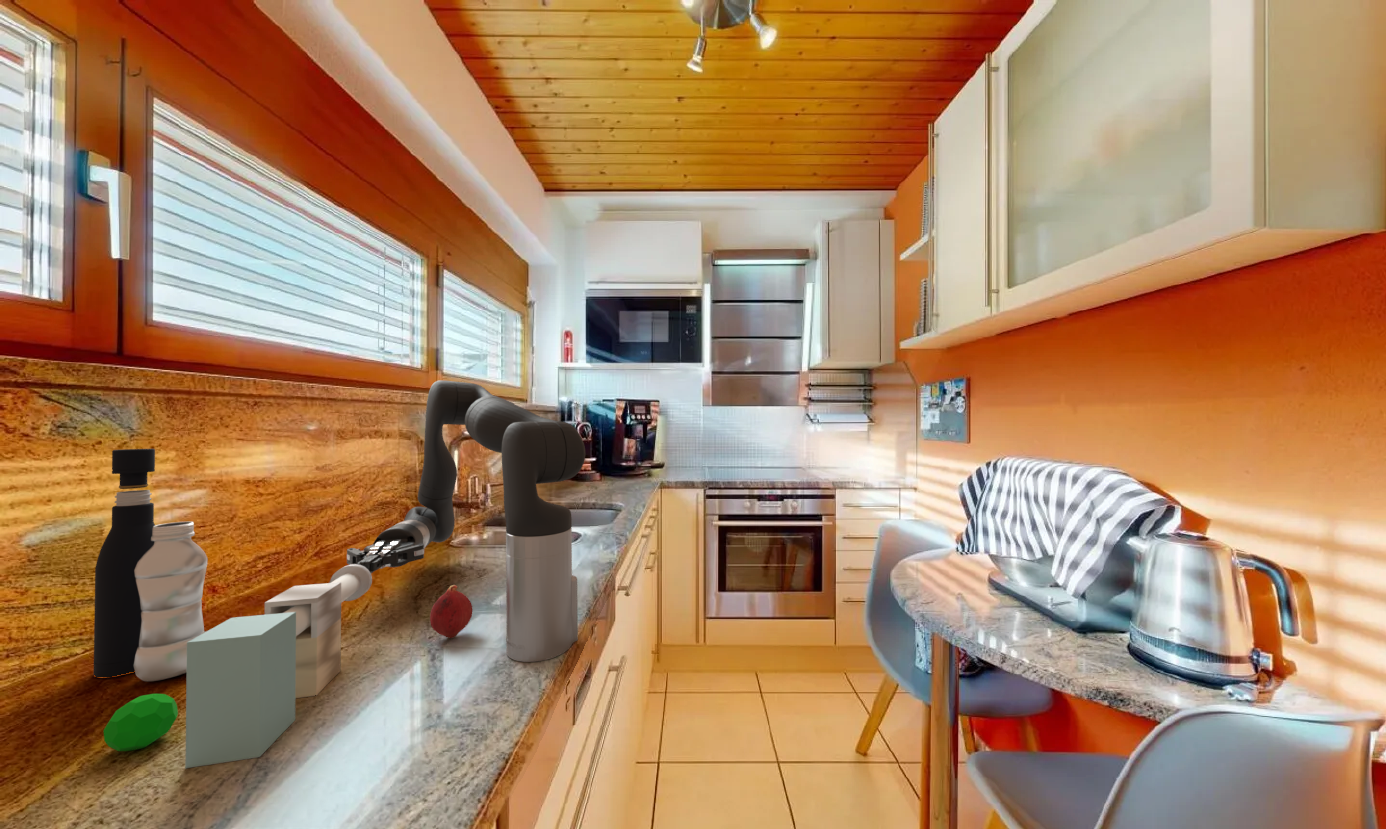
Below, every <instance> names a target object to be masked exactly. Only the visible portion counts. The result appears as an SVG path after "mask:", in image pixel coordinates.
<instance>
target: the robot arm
mask: <svg viewBox="0 0 1386 829" xmlns="http://www.w3.org/2000/svg"><path fill="white" fill-rule="evenodd" d="M425 411H426V412H425V428H424V444H423V445H424V447H423V448H424V449H423V450H424V451H423V464H422V465H423V466H422V473H421V477H420V482H419V487H418V492H417V501H418V502H419V504H420V505H422V506H414V507H412V508H411V509H409V510H408V511H407V513H406V515H405V517H404V519H403V521H400V522H398V523H396V524H395V525H392V526H390V527H389V528H387V529H385V530H383V531H382V532H380V533H379V535H378V536H377V537H376V538H375V540H374V542H373V543H372V544H370V545H367V546H365V547H364V548H363V550H361V549H360V548H355V547H351V548H346V549H347V550H346V564H347V565H350V564H359V565H362V566H364V567H366V568H367V569H368V570H369V571H370V573H371V574H373V573H374V572H375V571H378V570H379V569H384V568H386V567H388V568H398V567H402V566H405V565H407V564H408V563H411V562H415V561H419V560H422V559H425V549H426V547H427V546H428V545H429V544H430V543H432V542H434V543H442V542H445V541H446V540H448V539H449V538H450V537H451V536H452V534H453V533H454V530H455V523H456V522H455V514H454V507H453V505H454V504H453V496H454V493H455V492H454V491H455V488H456V481H457V477H458V468H457V465H456V462H455V460H454V458H453V456H452V455H451V452H450V451H449V449H448V447H447V445H446V442H445V440H444V437H443V428H444V425H452V426H453V425H454V426H455V425H457V426H465V429H466V431H467V433H468V435H469V436H470V437H471V438H472V439H473V440H474V441H475V442H476V443H478V444H480V446H482V447H484V448H485V449H487V450H490V451H493V452H496V453H500V454H501V467H502V468H501V469H502V470H501V472H502V484H503V485H502V486H503V510H504V516H505V518H504V519H505V555H506V556H505V559H506V561H505V564H506V566H505V568H506V569H505V578H506V580H505V581H506V582H505V585H506V586H505V587H506V588H505V590H506V593H505V595H506V597H505V598H506V599H505V600H506V602H505V604H506V605H505V607H506V608H505V611H506V616H505V618H506V620H505V621H506V625H505V626H506V627H505V628H506V635H505V636H506V637H505V638H506V639H505V640H506V641H505V642H506V644H505V645H506V655H507V657H508V658H510V659H511V660H514V661H516V662H517V661H518V662H525V663H526V662H527V663H528V662H531V663H532V662H541V661H546V660H549V659H552V658H556V657H558V656H560V655H562V654H564V653H565V652H566V651H568V650H569V649H570V648H571V646H573V645H572V644H573V643H574V642H577V641H578V636H579V633H578V630H579V629H578V627H579V625H578V623H579V622H578V615H579V614H578V578H577V576H576V575H573V562H572V561H573V553H572V552H573V550H572V548H573V546H572V541H573V540H572V537H573V535H572V520H573V519H572V512H571V510H570V508H568V507H566V506H563V505H560V504H555V503H551V502H548V501H545V500H544V499H542V498H540V496H539V494H538V490H537V485H539V484H549V483H558V482H559V483H561V482H565V481H567V480H569V479H572V478H574V477H575V476H576V475H578V473H580V471H581V470H582V468H583V466H584V463H585V460H586V448H585V443H584V441H583V438H582V436H581V434H580V433H579V431H578V430H577V429H576V428H575V427H574V426H573V425H572V424H570V423H568V422H564V421H560V420H554V419H550V418H547V417H543V416H540V415H537V414H536V413H534V412H531V411H530V410H528V409H526V408H523V407H521V406H519V405H517V404H515V403H513V402H511V401H509V400H507V399H505V398H502V397H499V396H497V395H493V394H492V393H490V391H488V390H487V389H486V388H485V387H483V386H482V385H479V384H477V383H471V382H465V381H451V380H436V381H435V382H433V383H432V384H431V386H430V389H429V391H428V395H427V400H426V410H425Z"/></svg>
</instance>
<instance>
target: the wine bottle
mask: <svg viewBox="0 0 1386 829" xmlns="http://www.w3.org/2000/svg"><path fill="white" fill-rule="evenodd" d="M111 452H112V453H111V474H113V475H118V474H119V486H118V489H120V490H125V491H118V492H116V495H115V496H114V498H115V499H116V500H115V501H114V504H116V505H114V506H112V508H111V528H110V530H109V532H108V534H107V536H106V537H105V539H104V542H103V543H102V545H101V547H100V550H99V554H98V556H97V561H96V564H95V567H94V568H95V569H94V570H95V571H94V574H95V575H94V619H93V620H94V626H93V631H94V632H93V634H94V635H93V676H94V675H95V676H96V677H112V676H117V675H121V674H126V673H129V672H134V671H135V670H134V666H133V665H134V660H135V655H136V651H137V648H138V646H139V638H140V630H141V622H142V619H141V612H142V610H141V606H140V597H139V592H138V588H137V583H136V577H135V572H134V570H135V567H136V565H137V563H138V561H139V560H140V559H141V558H142V556H143V555H144V554H145V553H146V552H147V551H148V550H149V549H150V548H151V547H152V546H153V545H154V541H151V537H152V531H153V526H156V525H155V521H154V514H155V512H154V510H155V509H154V508H155V507H154V506H155V504H154V502H151V501H152V497H151V495H152V492H151V490H150V489H143V488H147V487H148V486H149V484H148V473H153V472H156V471H155V470H156V467H155V466H156V449H155V448H130V449H127V448H125V449H113V450H112V451H111ZM140 488H141V490H139V489H140ZM130 489H131V490H130ZM132 489H137V490H132Z"/></svg>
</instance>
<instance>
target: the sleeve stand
mask: <svg viewBox="0 0 1386 829" xmlns="http://www.w3.org/2000/svg"><path fill="white" fill-rule="evenodd" d="M300 604H311V626H309V627H308V628H307V629H305V630H304V631H303V632H301V633H300V634H299V635H297V636H296V679H295V699H300V698H307V697H316V696H317V695H318V694H320V692H322V691H323V689H325V687H326V686H328V684H329V683H330V682H331V681H332V680H333V679H334V678H335V677H336V676H337V675H338V674H339V673H341V671H342V669H341V668H342V665H341V664H342V662H341V660H342V603H341V582H337V583H330V582H328V583H327V582H326V583H314V584H301V585H293V586H292V587H290V588H288V589H286V590H284V591H283V592H280V593H279V594H277V595H275V596H273V597H272V598H271V599H268V600H267V601H265V602H264V615H267V614H278V613H284V612H285V611H287V610H288V609H290V608H292V607H293V606H295V605H300ZM315 695H316V696H315Z"/></svg>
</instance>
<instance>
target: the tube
mask: <svg viewBox="0 0 1386 829" xmlns="http://www.w3.org/2000/svg"><path fill="white" fill-rule="evenodd" d="M372 577H373V576H372V573H370V571H369V570H368V569H367V568H366V567H364V566H362V565H359V564H350V565H349V564H347V565H345V566H343V567H341V568H340V569H338V570H336V571H335V572H334V573H333V574H332V576H331V577H330V580H329V583H337V582H341V604H342V603H343V602H344V601H345V602H351V601H355V600H357V599H359V598H361V597H362V596H364V595H365V594H366V593H367V592H368V591H369V589H370V588H371V586H372V583H373V578H372ZM289 612H296V636H297V635H299V634H300V633H301V632H303V631H304V630H305V629H307V628H308V627H309V626H311V604H300V605H295V606H293V607H292V608H290V609H288V610H287V611H285V612H284V613H289Z"/></svg>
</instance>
